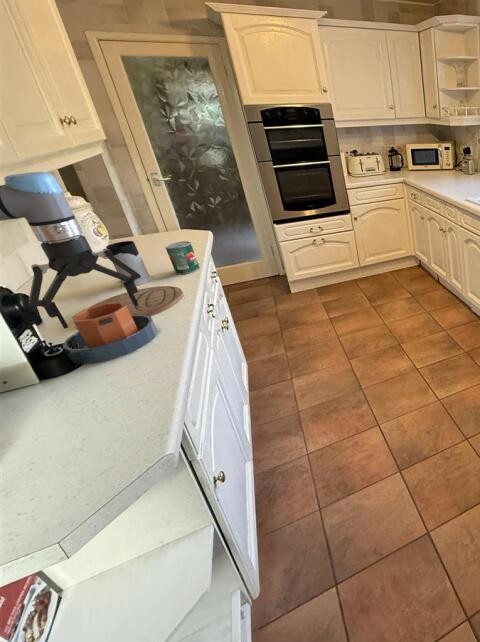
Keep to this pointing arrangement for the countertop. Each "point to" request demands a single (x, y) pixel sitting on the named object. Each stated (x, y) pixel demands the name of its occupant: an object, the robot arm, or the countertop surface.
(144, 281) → the glass holder
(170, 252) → the canned tomato
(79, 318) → the small pot
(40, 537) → the countertop surface
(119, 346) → the blue ring
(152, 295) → the trivet
